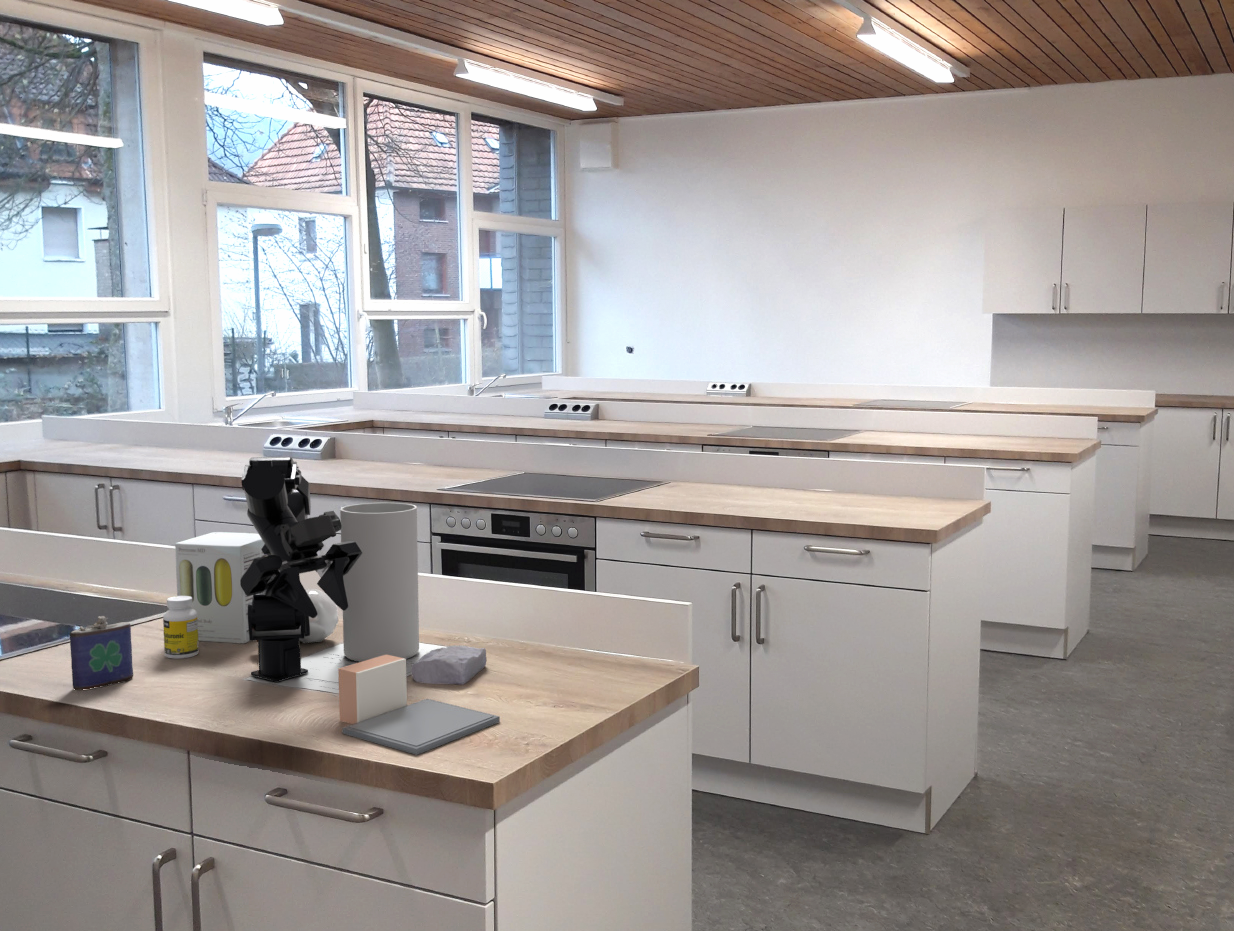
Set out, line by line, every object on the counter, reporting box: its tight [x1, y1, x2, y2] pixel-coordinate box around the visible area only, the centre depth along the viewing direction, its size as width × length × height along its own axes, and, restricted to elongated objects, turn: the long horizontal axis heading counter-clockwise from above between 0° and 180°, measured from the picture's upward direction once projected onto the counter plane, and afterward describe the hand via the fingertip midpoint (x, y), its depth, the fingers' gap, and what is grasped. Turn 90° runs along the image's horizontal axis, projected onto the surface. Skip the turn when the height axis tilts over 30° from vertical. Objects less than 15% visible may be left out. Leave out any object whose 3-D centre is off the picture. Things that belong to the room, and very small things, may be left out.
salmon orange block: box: [337, 654, 408, 725], centre depth 165 cm, size 4×9×8 cm, turn 144°
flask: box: [69, 615, 134, 691], centre depth 180 cm, size 9×3×11 cm, turn 138°
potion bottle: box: [255, 588, 339, 644], centre depth 203 cm, size 9×10×15 cm
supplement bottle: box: [162, 595, 200, 660], centre depth 196 cm, size 5×5×10 cm
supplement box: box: [174, 531, 268, 644], centre depth 211 cm, size 13×13×18 cm
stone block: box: [410, 645, 487, 685], centre depth 186 cm, size 12×5×10 cm
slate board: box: [342, 698, 501, 756], centre depth 160 cm, size 14×16×1 cm
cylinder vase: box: [339, 502, 420, 663], centre depth 196 cm, size 12×12×25 cm
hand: (330, 612), depth 169 cm, fingers open, 5 cm apart
